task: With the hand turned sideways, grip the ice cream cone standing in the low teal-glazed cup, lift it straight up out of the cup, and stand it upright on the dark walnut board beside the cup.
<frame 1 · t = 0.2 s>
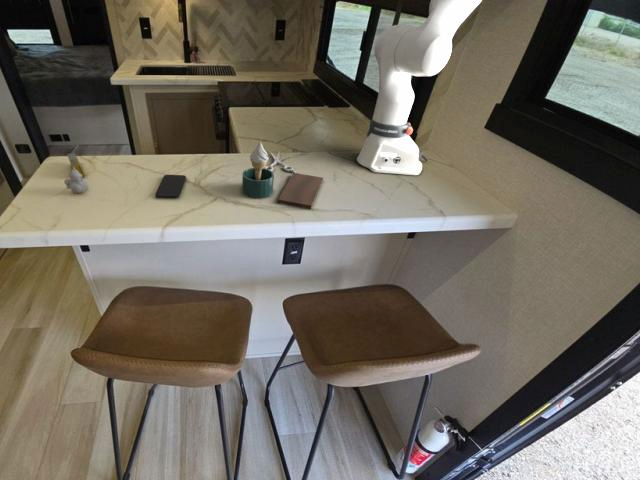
scissors: (277, 162, 123), on the table
phone: (171, 187, 107), on the table
ice cream cone: (257, 190, 106), resting on cup
board: (301, 191, 107), on the table
grey lumpy piece: (79, 192, 104), on the table
medication box: (78, 171, 114), on the table
cup: (257, 191, 106), on the table
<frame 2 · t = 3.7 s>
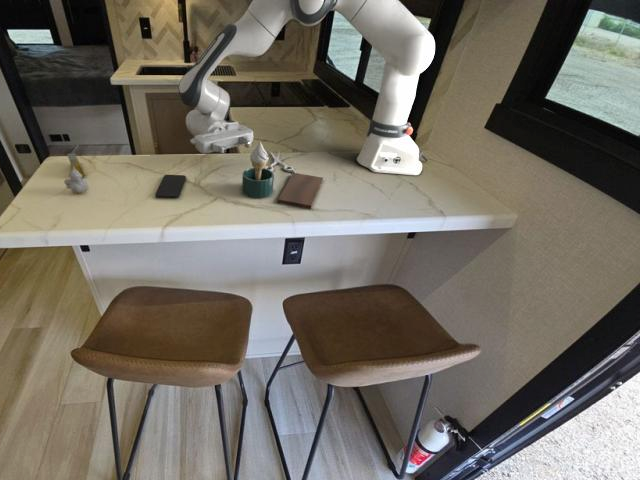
hand: (237, 147, 107), 10 cm above the table, tool horizontal, fingers open, 8 cm apart
nothing on the table moved.
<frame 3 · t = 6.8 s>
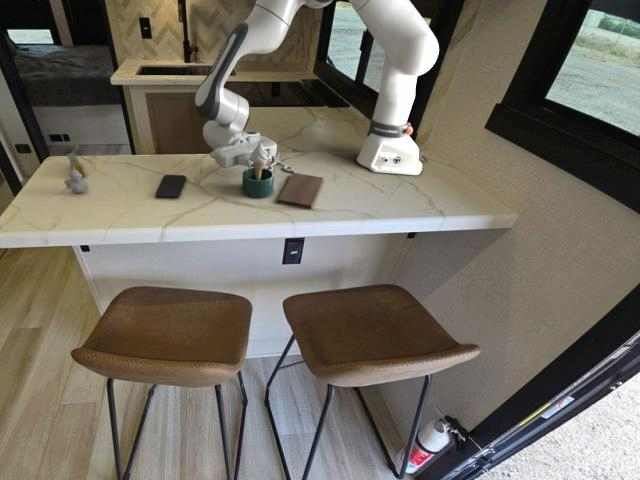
hand: (260, 161, 99), 10 cm above the table, tool horizontal, fingers closed on ice cream cone, 5 cm apart
ice cream cone: (257, 190, 106), resting on cup, touching gripper
everything else where it was.
when the fingers open (10 cm above the table, at t = 13.7 s): ice cream cone stays where it is, resting on board.
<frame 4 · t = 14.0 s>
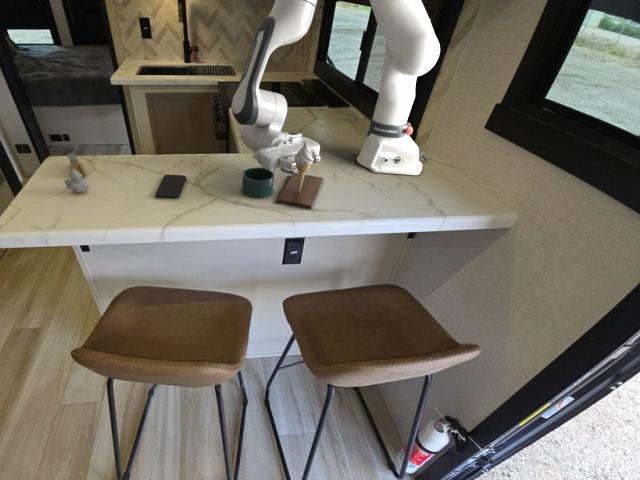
hand: (306, 163, 97), 10 cm above the table, tool horizontal, fingers open, 8 cm apart
ice cream cone: (298, 192, 104), point 1 cm above the table, touching board
everything else where it was.
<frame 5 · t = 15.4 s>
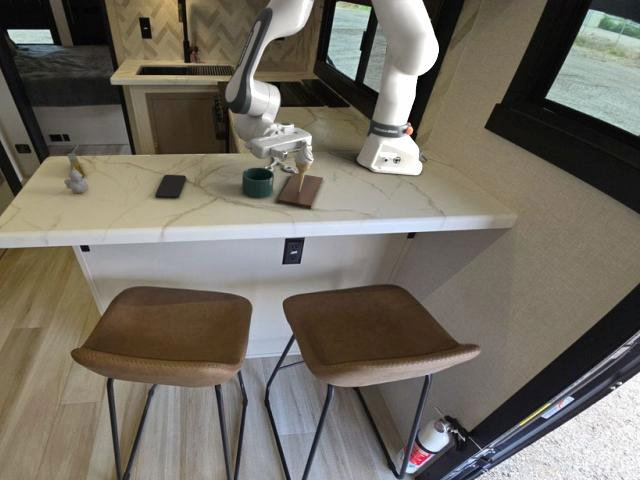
hand: (297, 152, 98), 12 cm above the table, tool horizontal, fingers open, 8 cm apart
nothing on the table moved.
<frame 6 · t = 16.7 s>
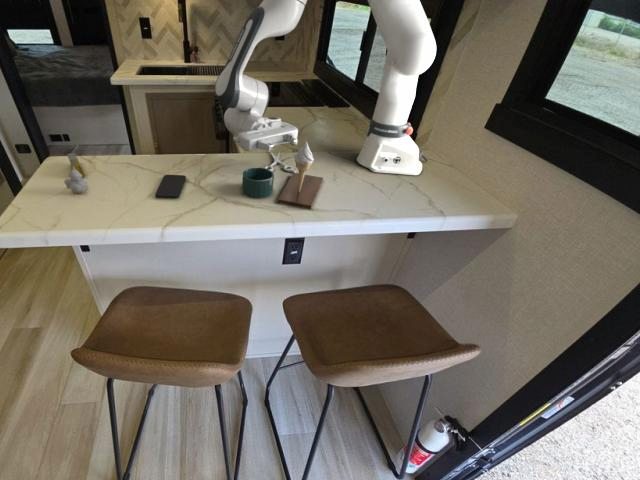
hand: (283, 145, 102), 12 cm above the table, tool horizontal, fingers open, 8 cm apart
nothing on the table moved.
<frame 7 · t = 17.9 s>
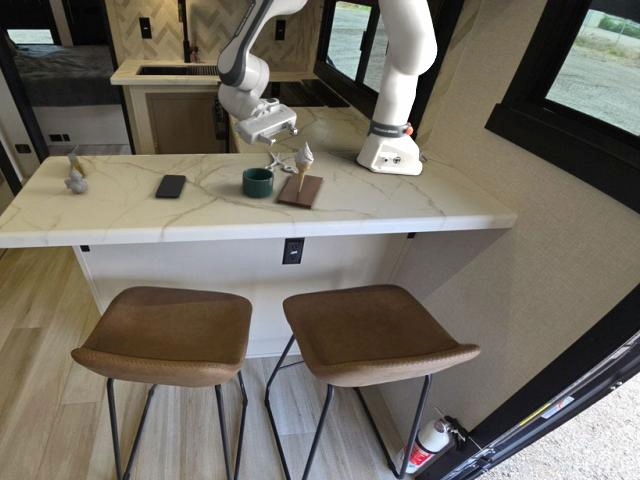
hand: (284, 138, 103), 13 cm above the table, tool horizontal, fingers open, 8 cm apart
nothing on the table moved.
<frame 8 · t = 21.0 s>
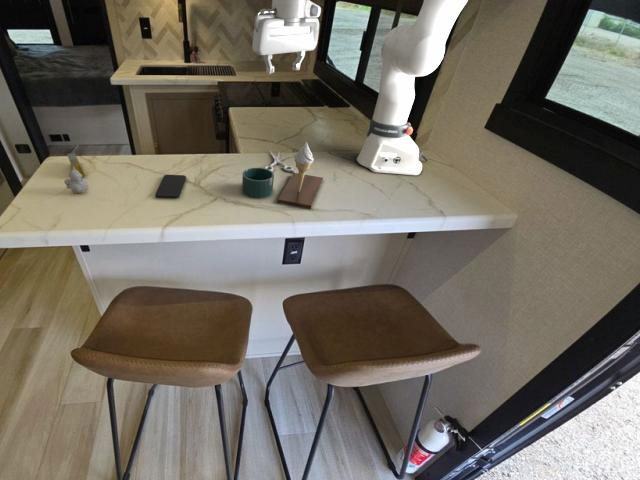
hand: (283, 71, 97), 29 cm above the table, tool pointing down, fingers open, 8 cm apart
nothing on the table moved.
at the end: ice cream cone inside the target area on the board (2.3 cm from its centre), point 1.0 cm above the board's base; ice cream cone tilted 0°; the gripper is holding nothing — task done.
